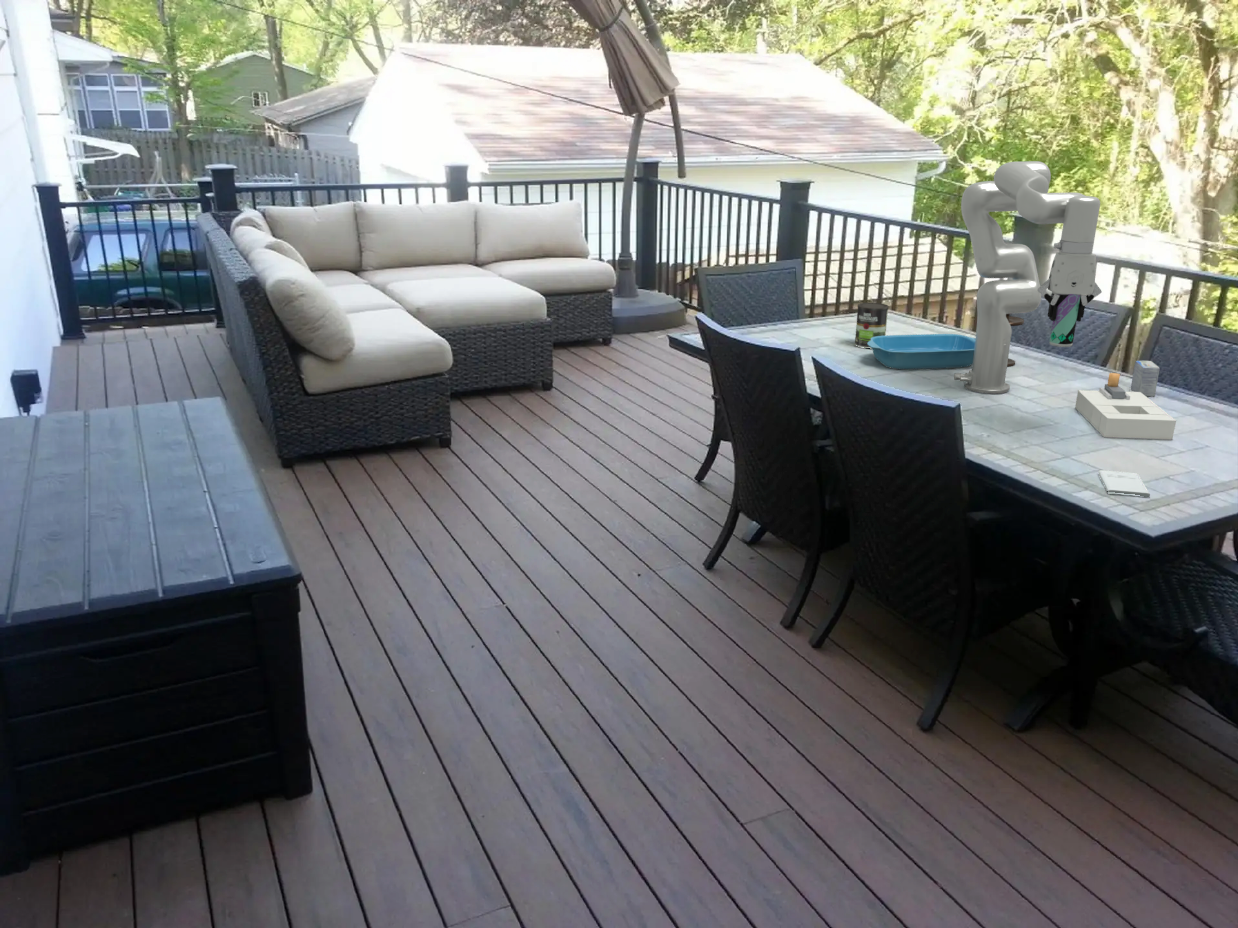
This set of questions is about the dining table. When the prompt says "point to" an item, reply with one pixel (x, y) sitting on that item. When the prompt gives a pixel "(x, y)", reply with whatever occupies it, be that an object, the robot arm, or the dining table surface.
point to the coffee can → (870, 322)
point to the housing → (1125, 415)
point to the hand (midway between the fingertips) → (1064, 319)
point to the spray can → (1065, 320)
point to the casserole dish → (923, 351)
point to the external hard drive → (1123, 483)
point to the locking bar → (1114, 386)
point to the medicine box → (1145, 378)
